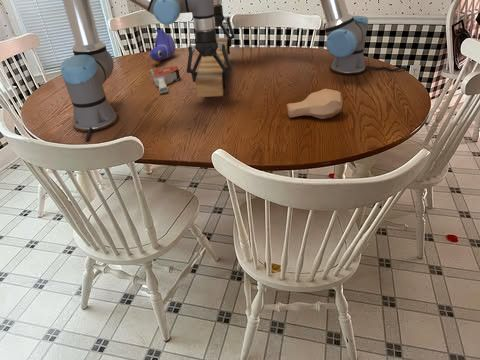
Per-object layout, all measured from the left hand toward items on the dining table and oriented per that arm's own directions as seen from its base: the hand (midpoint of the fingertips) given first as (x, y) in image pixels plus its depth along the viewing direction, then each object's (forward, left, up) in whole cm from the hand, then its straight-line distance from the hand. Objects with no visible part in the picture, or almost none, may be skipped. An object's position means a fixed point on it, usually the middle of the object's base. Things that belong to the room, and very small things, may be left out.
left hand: (211, 88), depth 141 cm
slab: (+23, 0, -1) cm, 23 cm away
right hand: (+46, 0, 0) cm, 46 cm away
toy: (+56, +31, -5) cm, 64 cm away
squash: (-17, -38, -5) cm, 42 cm away
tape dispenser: (+21, +24, -5) cm, 32 cm away
